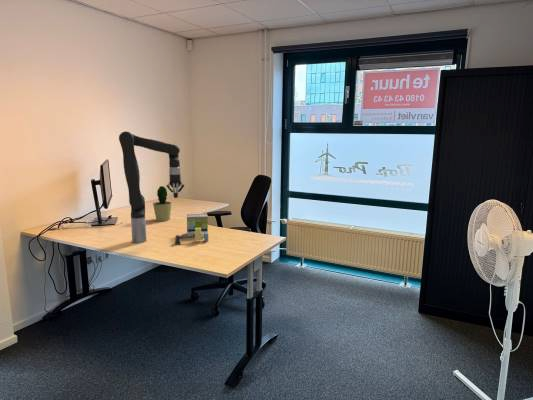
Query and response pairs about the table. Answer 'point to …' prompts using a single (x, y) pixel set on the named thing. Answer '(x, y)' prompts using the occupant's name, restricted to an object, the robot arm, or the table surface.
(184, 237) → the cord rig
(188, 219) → the tea box
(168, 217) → the potted cactus
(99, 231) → the table surface
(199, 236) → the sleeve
